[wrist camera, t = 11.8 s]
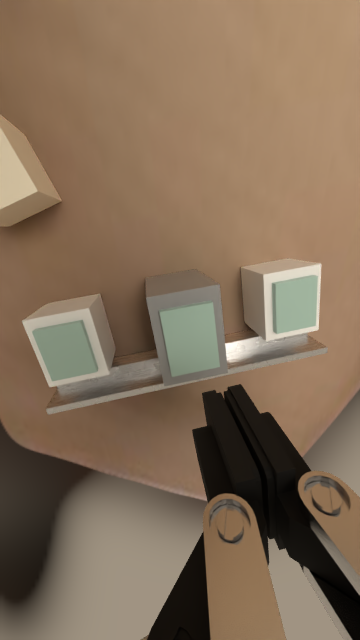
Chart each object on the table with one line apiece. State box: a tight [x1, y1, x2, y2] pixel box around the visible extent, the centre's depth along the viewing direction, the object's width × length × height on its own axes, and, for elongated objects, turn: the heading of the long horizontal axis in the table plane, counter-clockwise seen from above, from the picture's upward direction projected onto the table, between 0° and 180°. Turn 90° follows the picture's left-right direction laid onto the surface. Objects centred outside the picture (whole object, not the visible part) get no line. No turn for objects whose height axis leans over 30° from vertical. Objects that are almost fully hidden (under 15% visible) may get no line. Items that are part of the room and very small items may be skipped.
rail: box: [46, 329, 328, 414], centre depth 24 cm, size 2×26×5 cm, turn 100°
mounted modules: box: [22, 258, 321, 387], centre depth 22 cm, size 6×24×6 cm, turn 100°
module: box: [145, 269, 228, 386], centre depth 21 cm, size 7×5×8 cm
